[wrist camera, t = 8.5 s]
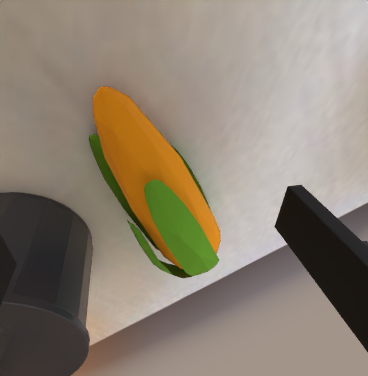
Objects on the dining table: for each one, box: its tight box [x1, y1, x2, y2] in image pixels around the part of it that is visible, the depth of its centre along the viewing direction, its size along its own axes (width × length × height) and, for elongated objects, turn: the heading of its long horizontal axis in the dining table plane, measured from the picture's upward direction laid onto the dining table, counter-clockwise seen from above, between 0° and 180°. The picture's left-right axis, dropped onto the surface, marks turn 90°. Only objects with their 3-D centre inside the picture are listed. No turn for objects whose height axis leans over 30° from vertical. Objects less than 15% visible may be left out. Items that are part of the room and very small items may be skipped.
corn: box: [89, 87, 220, 278], centre depth 21 cm, size 7×8×20 cm
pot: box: [0, 193, 93, 327], centre depth 21 cm, size 13×13×10 cm
